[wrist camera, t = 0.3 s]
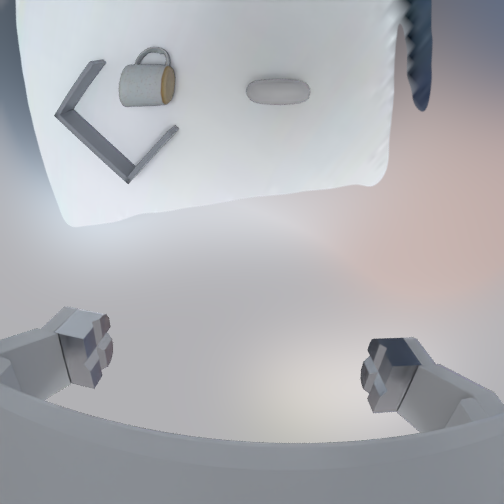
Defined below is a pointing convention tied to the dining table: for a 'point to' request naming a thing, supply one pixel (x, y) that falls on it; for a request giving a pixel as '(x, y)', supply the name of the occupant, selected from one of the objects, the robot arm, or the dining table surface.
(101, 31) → the dining table surface
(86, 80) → the box
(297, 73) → the dining table surface
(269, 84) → the donut
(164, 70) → the ceramic mug
